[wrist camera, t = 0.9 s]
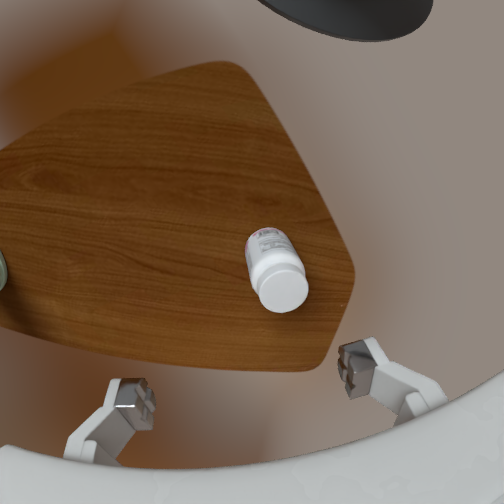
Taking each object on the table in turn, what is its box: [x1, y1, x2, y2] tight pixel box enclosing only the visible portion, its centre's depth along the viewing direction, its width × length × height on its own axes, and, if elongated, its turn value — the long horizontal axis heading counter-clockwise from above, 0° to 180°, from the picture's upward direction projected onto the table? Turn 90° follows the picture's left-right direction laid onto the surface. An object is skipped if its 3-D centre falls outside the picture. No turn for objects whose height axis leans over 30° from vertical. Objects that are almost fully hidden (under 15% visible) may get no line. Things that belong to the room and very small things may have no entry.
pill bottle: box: [245, 228, 308, 313], centre depth 27 cm, size 5×5×8 cm
